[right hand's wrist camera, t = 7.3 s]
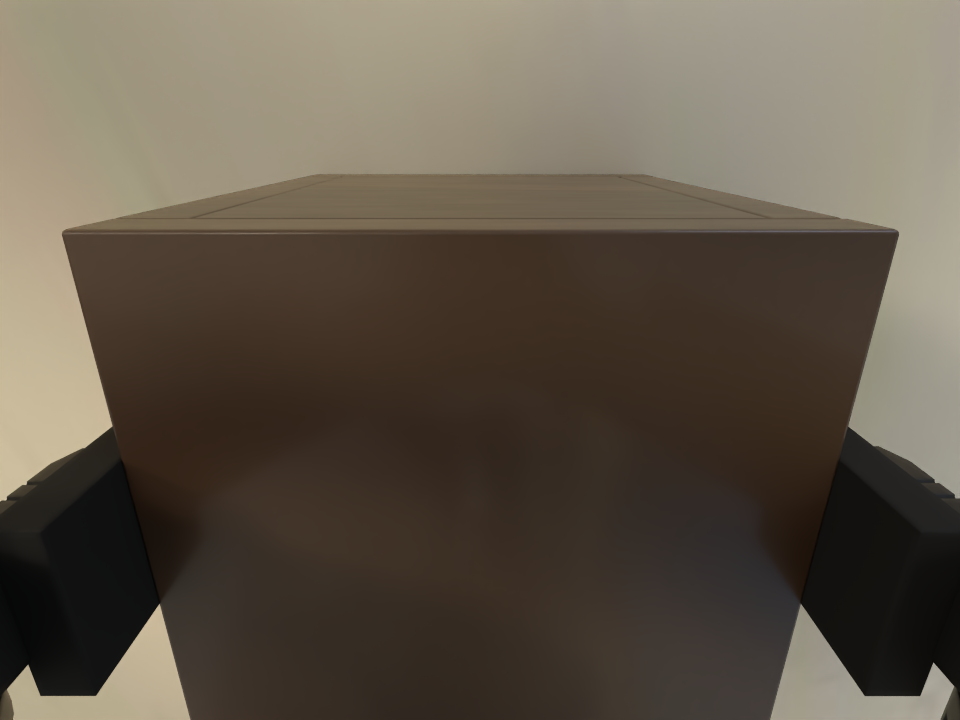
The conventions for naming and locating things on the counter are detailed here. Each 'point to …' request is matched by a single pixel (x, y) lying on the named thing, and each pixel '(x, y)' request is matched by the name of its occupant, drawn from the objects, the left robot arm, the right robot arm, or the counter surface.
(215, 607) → the cabinet
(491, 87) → the counter surface
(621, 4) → the counter surface
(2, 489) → the counter surface
